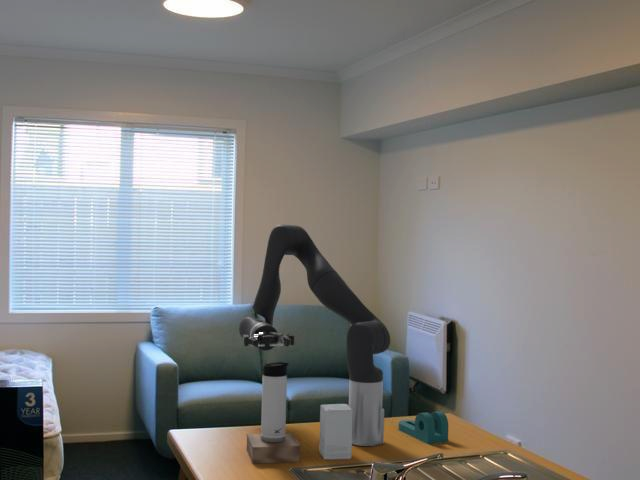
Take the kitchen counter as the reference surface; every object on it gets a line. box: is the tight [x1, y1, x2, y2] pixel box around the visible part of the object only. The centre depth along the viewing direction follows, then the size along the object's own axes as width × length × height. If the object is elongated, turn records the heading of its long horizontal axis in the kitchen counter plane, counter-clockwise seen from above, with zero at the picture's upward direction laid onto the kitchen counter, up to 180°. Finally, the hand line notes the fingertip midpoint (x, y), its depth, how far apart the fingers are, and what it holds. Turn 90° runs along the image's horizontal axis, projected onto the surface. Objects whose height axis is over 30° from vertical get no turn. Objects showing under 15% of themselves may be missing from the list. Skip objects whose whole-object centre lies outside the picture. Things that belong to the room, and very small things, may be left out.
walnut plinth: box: [246, 432, 301, 464], centre depth 194 cm, size 12×12×4 cm
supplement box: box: [318, 403, 353, 460], centre depth 195 cm, size 7×7×13 cm
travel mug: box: [260, 361, 289, 443], centre depth 194 cm, size 6×7×20 cm
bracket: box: [398, 410, 449, 445], centre depth 218 cm, size 18×7×8 cm, turn 25°
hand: (272, 343), depth 207 cm, fingers open, 8 cm apart
